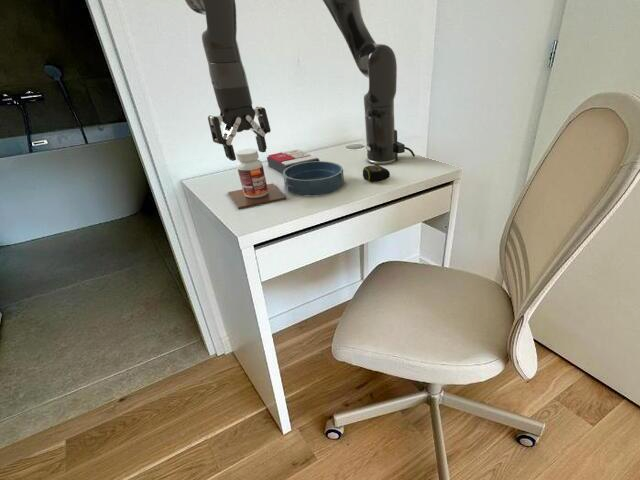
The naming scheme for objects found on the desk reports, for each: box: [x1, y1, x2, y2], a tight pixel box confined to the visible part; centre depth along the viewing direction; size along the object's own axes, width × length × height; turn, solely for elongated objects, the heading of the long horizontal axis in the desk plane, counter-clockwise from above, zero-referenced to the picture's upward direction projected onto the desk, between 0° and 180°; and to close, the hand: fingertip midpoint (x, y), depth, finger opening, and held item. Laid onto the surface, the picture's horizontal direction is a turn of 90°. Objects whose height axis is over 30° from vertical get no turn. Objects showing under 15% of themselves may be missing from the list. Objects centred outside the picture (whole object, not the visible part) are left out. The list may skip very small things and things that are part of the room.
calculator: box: [266, 149, 320, 175], centre depth 121 cm, size 11×4×15 cm
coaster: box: [227, 182, 287, 210], centre depth 103 cm, size 12×12×1 cm
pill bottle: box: [235, 148, 268, 198], centre depth 100 cm, size 6×6×11 cm
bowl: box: [282, 160, 345, 197], centre depth 108 cm, size 16×16×4 cm
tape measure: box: [362, 164, 391, 183], centre depth 112 cm, size 7×7×4 cm
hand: (248, 155), depth 97 cm, fingers open, 8 cm apart
